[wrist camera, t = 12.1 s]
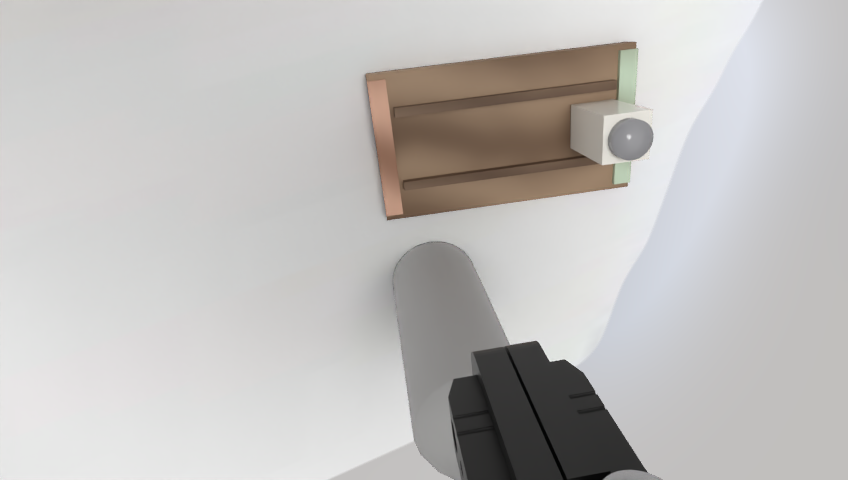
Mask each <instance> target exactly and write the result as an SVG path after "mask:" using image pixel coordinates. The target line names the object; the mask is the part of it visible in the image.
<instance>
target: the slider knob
mask: <svg viewBox="0 0 848 480" xmlns="http://www.w3.org/2000/svg"><path fill="white" fill-rule="evenodd" d="M652 113H653V109H649V108H645V107H641V106H638V105H634V104H630V103H626V102H622V101H618V100H615V99H611V100H603V101H595V102H587V103H580V104H572V105H571V138H570V148H571V149H573V150H575V151H577V152H579V153H580V154H582V155H584V156H586V157H588V158H590V159H591V160H593V161H595V162H597V163H599V164H600V165H608V164H616V163H623V162H630V161H637V160H645V159H649V151H650V147H651V145H652V142H653V131H652V128H651V126H652Z"/></svg>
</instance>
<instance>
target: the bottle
mask: <svg viewBox="0 0 848 480" xmlns="http://www.w3.org/2000/svg"><path fill="white" fill-rule="evenodd" d="M393 289H394V296H395V305H396V313H397V320H398V328H399V335H400V342H401V349H402V357H403V364H404V371H405V379H406V386H407V393H408V400H409V408H410V415H411V422H412V429H413V437H414V441H415V443H416V445H417V447H418V450H419V452H420V454H421V455H422V456H423V457H424V458H425V459H426V460H427V461H428V462H429V463H430V464H431V465H432V466H433V467H435V469H436V470H437V471H438V472H440V473H442V474H444V475H446V476H448V477H450V478H452V479H454V480H461V476H460V471H459V467H458V463H457V458H456V454H455V449H454V442H453V434H452V426H451V417H450V409H449V401H448V395H449V392H450V389H451V386H452V382H453V379H455V378H461V377H467V376H473V375H472V364H471V352H474V351H480V350H486V349H491V348H497V347H505V346H508V345H510V344H509V342H508V340H507V337H506V335H505V333H504V331H503V329H502V326H501V324H500V322H499V320H498V318H497V315H496V313H495V311H494V309H493V307H492V304H491V302H490V300H489V298H488V296H487V293H486V291H485V289H484V287H483V284H482V282H481V280H480V278H479V276H478V274H477V272H476V270H475V268H474V266H473V264H472V261H471V260H470V258H469V257H468V256H467V255H466V253H465V252H464V251H462V250H461V249H460V248H458V247H456V246H454V245H452V244H449V243H445V242H428V243H424V244H421V245H418V246H416V247H414V248H412V249H411V250H410V251H408V252H407V253H406V254H405V255H404V256H403V257H402V258H401V259H400V261H399V262H398V264H397V266H396V268H395V271H394V275H393Z"/></svg>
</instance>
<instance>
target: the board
mask: <svg viewBox="0 0 848 480" xmlns="http://www.w3.org/2000/svg"><path fill="white" fill-rule="evenodd" d="M637 62H638V48H636V42H621V43H613V44H605V45H596V46H588V47H580V48H572V49H564V50H555V51H547V52H539V53H531V54H523V55H514V56H506V57H498V58H490V59H482V60H473V61H465V62H457V63H449V64H441V65H432V66H424V67H416V68H408V69H399V70H391V71H383V72H375V73H367V74H366V80H367V87H368V94H369V100H370V107H371V114H372V121H373V128H374V134H375V141H376V148H377V155H378V162H379V168H380V175H381V182H382V189H383V196H384V202H385V209H386V216H387V220H392V219H399V218H406V217H413V216H420V215H428V214H435V213H442V212H449V211H456V210H463V209H470V208H477V207H484V206H491V205H498V204H505V203H513V202H520V201H527V200H534V199H541V198H548V197H555V196H562V195H569V194H576V193H583V192H590V191H598V190H605V189H612V188H619V187H626V186H628V182H630V172H631V161H630V162H623V163H616V164H608V165H600V164H599V163H597V162H595V161H593V160H591V159H590V158H588V157H586V156H584V155H582V154H580V153H579V152H577V151H575V150H573V149H571V148H570V138H571V105H572V104H580V103H587V102H595V101H603V100H611V99H615V100H618V101H622V102H626V103H630V104H634V105H635V94H636V78H637Z"/></svg>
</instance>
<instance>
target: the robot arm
mask: <svg viewBox="0 0 848 480" xmlns="http://www.w3.org/2000/svg"><path fill="white" fill-rule="evenodd" d="M471 364H472V375H473V376H467V377H461V378H455V379H453V382H452V386H451V389H450V392H449V395H448V401H449V409H450V417H451V426H452V434H453V442H454V449H455V454H456V458H457V463H458V467H459V471H460V476H461V480H662V479H661V478H659V477H657V476H655V475H652V474H649V473H648V472H647V471H646V469H645V468H644V467H643V465H642V463H641V462H640V460H639V459H638V457H637V456H636V454H635V453H634V451H633V449H632V448H631V446H630V445H629V443H628V442H627V440H626V439H625V437H624V435H623V434H622V432H621V431H620V429H619V428H618V426H617V424H616V423H615V421H614V420H613V418H612V417H611V415H610V414H609V412H608V410H606V409H605V407H604V404H603V403H602V401H601V400H600V398H599V396H598V395H596V394H595V390H594V389H593V387H592V385H591V384H590V382H589V381H588V379H587V378H586V376H585V375H584V373H583V372H581V371H580V370H579V369H577V368H576V367H574V366H573V365H572V364H570V363H569V362H568V361H566V360H559V361H553V362H549V360H548V358H547V356H546V355H545V353H544V351H543V349H542V348H541V346H540V344H539V343H538V342H537V341H532V342H526V343H520V344H514V345H508V346H505V347H497V348H491V349H486V350H480V351H474V352H471Z"/></svg>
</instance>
